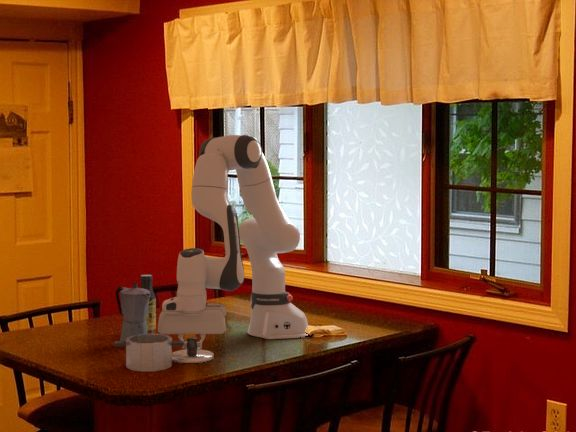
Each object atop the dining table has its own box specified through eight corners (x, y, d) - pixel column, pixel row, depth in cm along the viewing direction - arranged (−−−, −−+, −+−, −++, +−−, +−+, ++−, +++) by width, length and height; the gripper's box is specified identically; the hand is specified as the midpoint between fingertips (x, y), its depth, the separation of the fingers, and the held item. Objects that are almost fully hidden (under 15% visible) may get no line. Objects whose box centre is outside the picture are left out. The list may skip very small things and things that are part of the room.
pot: (184, 359, 283) (184, 333, 282) (182, 371, 270) (181, 343, 269) (117, 360, 282) (117, 333, 281) (111, 371, 269) (111, 344, 268)
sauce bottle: (152, 336, 313) (151, 277, 311) (134, 335, 314) (133, 276, 312) (158, 332, 319) (158, 274, 317) (141, 331, 320) (140, 273, 318)
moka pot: (141, 350, 294) (140, 286, 292) (104, 343, 303) (103, 282, 300) (160, 343, 302) (160, 282, 300) (124, 337, 311) (123, 278, 309)
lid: (214, 352, 291) (214, 333, 291) (212, 363, 278) (212, 343, 278) (172, 353, 291) (171, 333, 290) (168, 364, 278) (168, 343, 277)
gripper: (226, 300, 286) (226, 345, 288) (159, 301, 285) (159, 345, 287) (226, 304, 280) (226, 350, 282) (157, 305, 279) (157, 350, 281)
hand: (191, 348), depth 284 cm, fingers closed on lid, 3 cm apart
